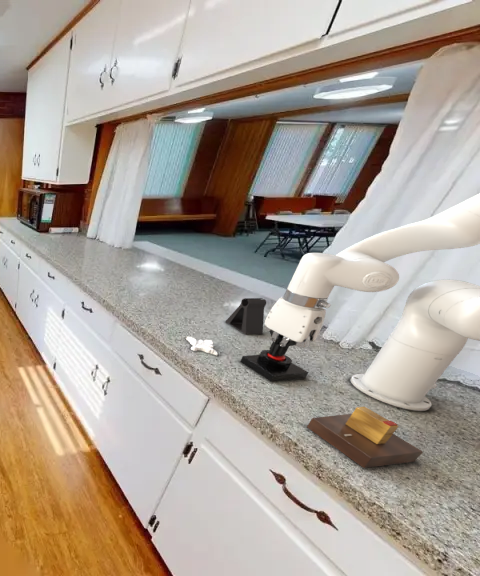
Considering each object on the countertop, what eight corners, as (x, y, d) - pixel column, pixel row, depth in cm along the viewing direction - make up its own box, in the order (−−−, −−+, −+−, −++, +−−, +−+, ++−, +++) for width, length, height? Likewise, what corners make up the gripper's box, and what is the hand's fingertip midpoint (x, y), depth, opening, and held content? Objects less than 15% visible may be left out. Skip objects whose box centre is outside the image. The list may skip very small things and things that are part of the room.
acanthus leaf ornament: (185, 339, 102) (187, 334, 101) (209, 343, 100) (211, 338, 99) (191, 351, 96) (193, 346, 95) (217, 355, 93) (219, 350, 92)
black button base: (272, 359, 91) (277, 348, 90) (305, 378, 83) (311, 367, 81) (240, 361, 90) (244, 351, 89) (270, 381, 82) (276, 370, 80)
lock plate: (351, 422, 69) (358, 412, 68) (414, 461, 60) (424, 451, 59) (306, 427, 68) (312, 417, 67) (363, 468, 59) (372, 457, 58)
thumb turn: (344, 424, 65) (356, 406, 63) (352, 423, 65) (365, 405, 63) (377, 444, 60) (391, 426, 58) (385, 443, 61) (399, 425, 59)
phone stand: (225, 321, 112) (236, 293, 107) (241, 321, 112) (252, 293, 107) (245, 334, 104) (257, 304, 99) (262, 334, 104) (275, 304, 99)
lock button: (273, 355, 88) (275, 351, 88) (286, 363, 85) (289, 358, 84) (262, 356, 88) (265, 351, 87) (275, 364, 85) (277, 359, 84)
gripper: (352, 311, 72) (316, 370, 80) (285, 287, 86) (261, 339, 93) (325, 313, 71) (292, 372, 79) (262, 288, 85) (239, 341, 92)
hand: (275, 354), depth 86 cm, fingers closed
